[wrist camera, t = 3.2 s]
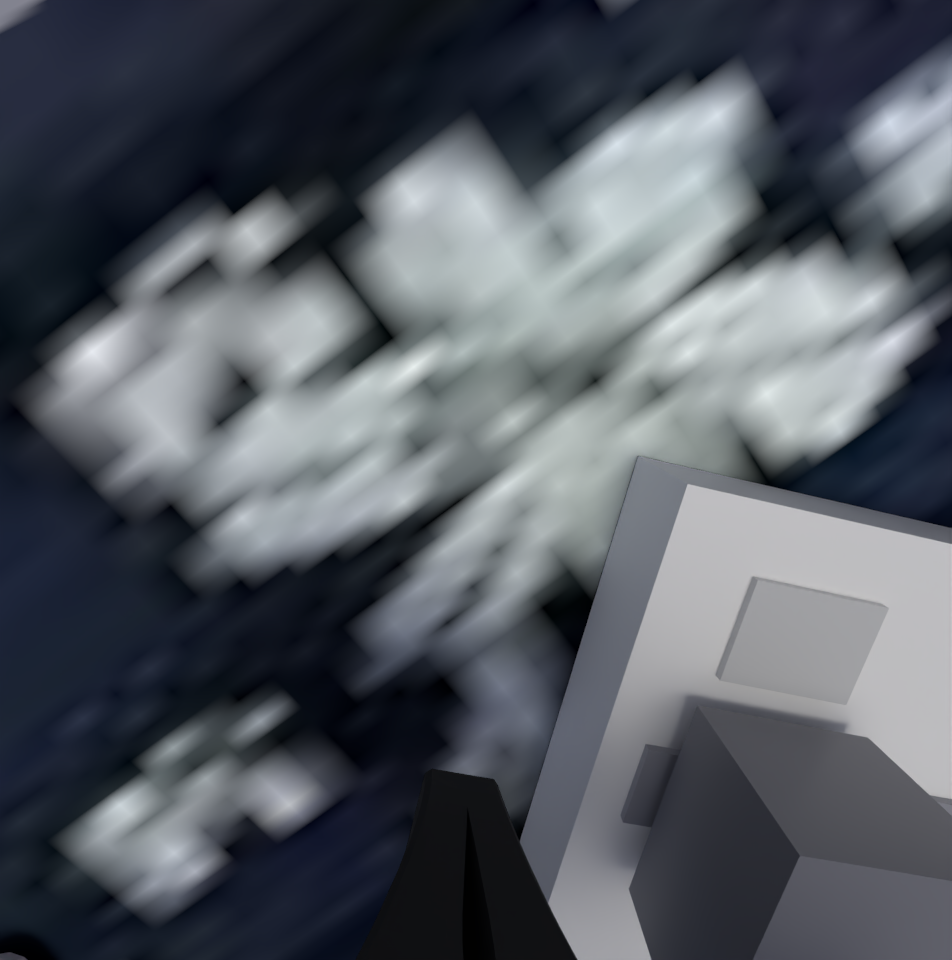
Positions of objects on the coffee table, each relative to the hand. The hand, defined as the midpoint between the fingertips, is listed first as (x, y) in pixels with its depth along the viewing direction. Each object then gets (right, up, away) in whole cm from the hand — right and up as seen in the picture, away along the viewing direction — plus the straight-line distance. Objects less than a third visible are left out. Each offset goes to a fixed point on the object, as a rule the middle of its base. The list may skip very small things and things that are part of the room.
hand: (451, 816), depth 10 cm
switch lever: (+7, -1, +2) cm, 7 cm away
